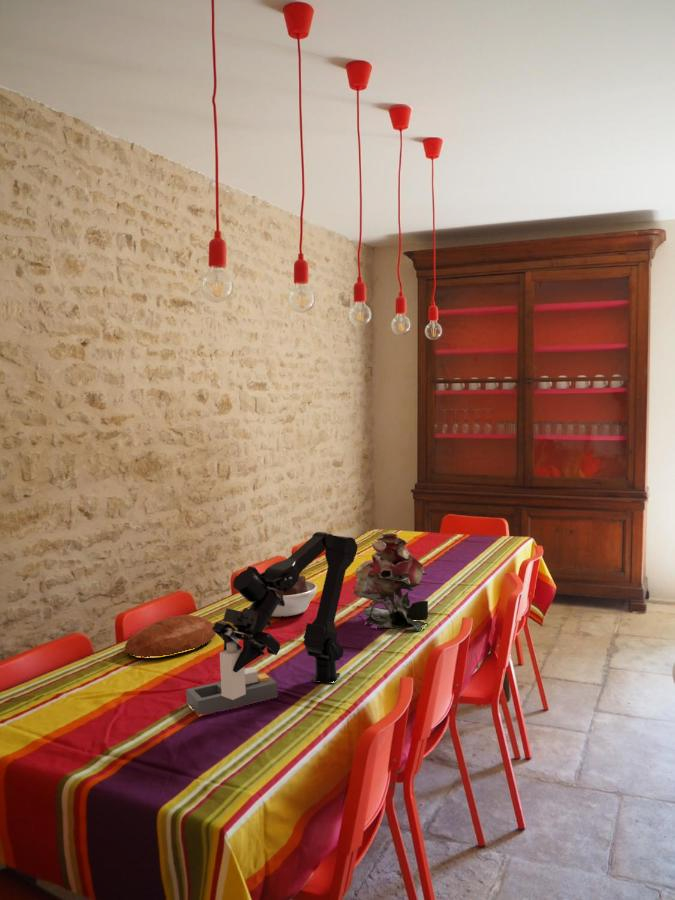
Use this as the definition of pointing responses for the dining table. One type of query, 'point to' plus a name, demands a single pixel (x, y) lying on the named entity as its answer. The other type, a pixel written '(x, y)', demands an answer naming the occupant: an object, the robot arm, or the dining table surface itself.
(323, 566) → the dining table surface
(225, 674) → the plug
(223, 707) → the grey boxy piece
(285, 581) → the robot arm
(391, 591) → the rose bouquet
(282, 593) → the white dessert bowl
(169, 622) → the bread
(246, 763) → the dining table surface
